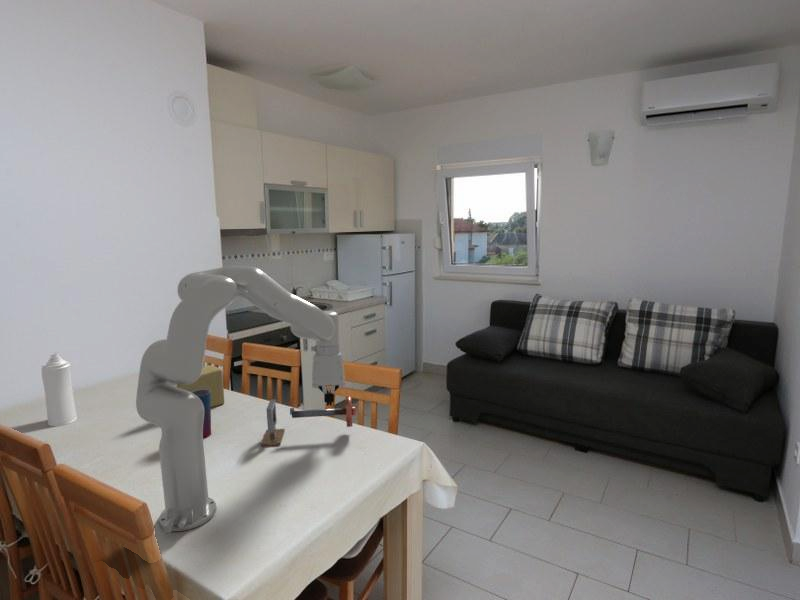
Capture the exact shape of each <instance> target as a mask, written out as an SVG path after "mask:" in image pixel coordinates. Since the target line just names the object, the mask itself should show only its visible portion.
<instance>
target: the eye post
mask: <svg viewBox="0 0 800 600" xmlns="http://www.w3.org/2000/svg"><path fill="white" fill-rule="evenodd" d="M276 405H277V403H276V399H275V398H274V399H270V400H269V403H268V404H267V407H266V419H267V420H266V422H267V423H266V424H267V429H266V430H265V432H264V434H263V437H262V441H261V442H260V447H276V446H281V444H282V441H283V438H284V435H285V428H277V427H276V425H277V422H278V420H277V409H276V408H277V407H276Z"/></svg>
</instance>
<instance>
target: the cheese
mask: <svg viewBox="0 0 800 600" xmlns="http://www.w3.org/2000/svg"><path fill="white" fill-rule="evenodd" d="M223 378H224V377H223V369H222V368H220V367H217V366H213V365H210V364H209V365H205V366H203V370H202V374H201V376H200V377H199V379H198V380H197V381H196V382H194V383H192V384H188V385H181V384H177V387H176V388H180V389H183V390H186V391H189V392H191V391H194V390H199V389H208V390H210V401H211V408H214V407H217V406H222V405H224V404H225V391H224V390H225V389H224V379H223Z"/></svg>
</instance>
